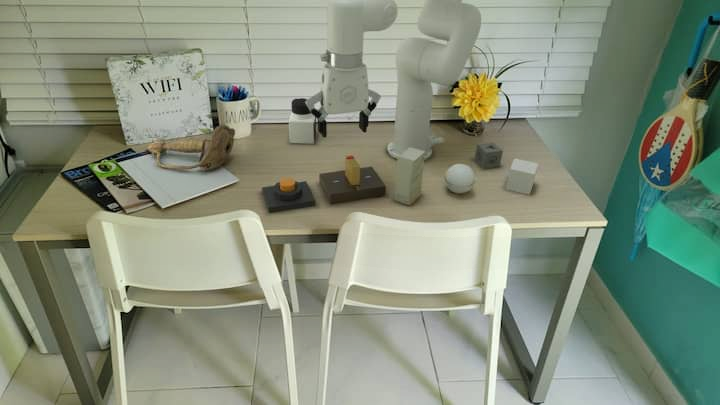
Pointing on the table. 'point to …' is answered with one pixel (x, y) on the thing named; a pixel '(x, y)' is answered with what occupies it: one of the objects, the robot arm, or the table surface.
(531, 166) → the light grey cube
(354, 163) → the lock turn
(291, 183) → the bell button
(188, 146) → the sword hilt
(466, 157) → the table surface
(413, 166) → the cosmetic box
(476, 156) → the dice cube
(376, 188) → the plate
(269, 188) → the black knob base
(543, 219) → the table surface
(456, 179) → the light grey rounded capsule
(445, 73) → the robot arm
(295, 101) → the medicine bottle
